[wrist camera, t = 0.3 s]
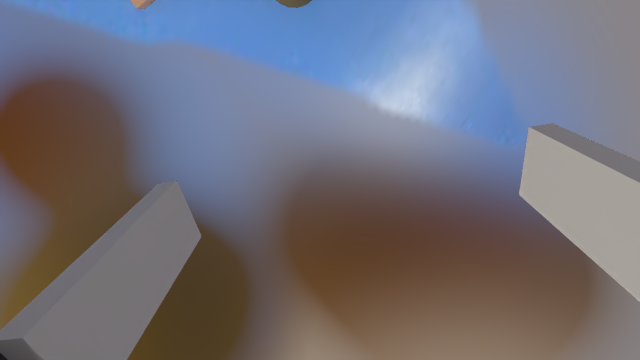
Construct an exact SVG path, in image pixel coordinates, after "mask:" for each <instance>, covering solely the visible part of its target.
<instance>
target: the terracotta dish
mask: <svg viewBox="0 0 640 360" xmlns="http://www.w3.org/2000/svg"><path fill="white" fill-rule="evenodd" d="M154 1H155V0H131V2H132V3H133V4H134V6H135V7H136V8H137V9H145V8H146V7H148V6H149V5H150V4H151V3H153V2H154Z"/></svg>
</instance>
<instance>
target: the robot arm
mask: <svg viewBox="0 0 640 360" xmlns="http://www.w3.org/2000/svg"><path fill="white" fill-rule="evenodd" d="M519 195H520V196H521V197H522V198H523V199H525V200H526V201H527V202H528V203H529V204H530V205H531V206H532V207H534V208H535V209H536V210H537V211H538V212H539V213H540V214H541V215H543V216H544V217H545V218H546V219H547V220H548V221H549V222H551V223H552V224H553V225H554V226H555V227H556V228H557V229H558V230H559V231H561V232H562V233H563V234H564V235H565V236H566V237H567V238H569V239H570V240H571V241H572V242H573V243H574V244H575V245H576V246H578V247H579V248H580V249H581V250H582V251H583V252H584V253H586V254H587V255H588V256H589V257H590V258H591V259H593V261H594V262H596V263H597V264H598V265H599V266H600V267H601V268H602V269H604V270H605V271H606V272H607V273H608V274H609V275H610V276H611V277H612V278H614V279H615V280H616V281H617V282H618V283H619V284H620V285H621V286H623V287H624V288H625V289H626V290H627V291H628V292H629V293H631V294H632V295H633V296H634V297H635V298H636V299H637V300H638V301H640V161H638V160H635V159H633V158H631V157H628V156H626V155H624V154H621V153H619V152H617V151H614V150H612V149H610V148H607V147H605V146H603V145H601V144H598V143H596V142H594V141H592V140H589V139H587V138H585V137H582V136H580V135H578V134H576V133H573V132H571V131H569V130H566V129H564V128H562V127H559V126H557V125H555V124H546V125H540V126H533V127H529V131H528V138H527V145H526V152H525V159H524V165H523V172H522V179H521V185H520V192H519ZM200 238H201V234H200V232H199V230H198V227H197V225H196V223H195V221H194V218H193V216H192V214H191V212H190V210H189V207H188V205H187V203H186V201H185V199H184V196H183V194H182V192H181V190H180V187H179V185H178V183H177V181H173V182H166V183H160V184H158V185H157V186H156V187H154V188H153V189H152V190H151V191H150V192H149V193H148V194H147V195H146V196H145V197H144V198H143V199H142V200H141V201H139V202H138V203H137V204H136V205H135V206H134V207H133V208H132V209H131V210H130V211H129V212H127V213H126V214H125V215H124V216H123V217H122V218H121V219H120V220H119V221H118V222H117V223H116V224H115V225H114V226H112V227H111V228H110V229H109V230H108V231H107V232H106V233H105V234H104V235H103V236H102V237H101V238H99V239H98V240H97V241H96V242H95V243H94V244H93V245H92V246H91V247H90V248H89V249H88V250H87V251H86V252H84V253H83V254H82V255H81V256H80V257H79V258H78V259H77V260H76V261H75V262H74V263H72V264H71V265H70V266H69V267H68V268H67V269H66V270H65V271H64V272H63V273H62V274H61V275H60V276H59V277H57V278H56V279H55V280H54V281H53V282H52V283H51V284H50V285H49V286H48V287H47V288H46V289H44V290H43V291H42V292H41V293H40V294H39V295H38V296H37V297H36V298H35V299H34V300H33V301H32V302H30V303H29V304H28V305H27V306H26V307H25V308H24V309H23V310H22V311H21V312H20V313H19V314H17V315H16V316H15V317H14V318H13V319H12V320H11V321H10V322H9V323H8V324H7V325H6V326H5V327H3V328H2V329H1V330H0V360H127V358H128V357H129V355H130V353H131V352H132V350H133V348H134V347H135V345H136V344H137V342H138V340H139V339H140V337H141V335H142V333H143V332H144V330H145V329H146V327H147V325H148V324H149V322H150V320H151V319H152V317H153V316H154V314H155V312H156V311H157V309H158V307H159V305H160V304H161V302H162V301H163V299H164V297H165V296H166V294H167V292H168V291H169V289H170V287H171V286H172V284H173V282H174V281H175V279H176V277H177V276H178V274H179V272H180V271H181V269H182V267H183V266H184V264H185V262H186V261H187V259H188V258H189V256H190V254H191V253H192V251H193V249H194V247H195V246H196V244H197V243H198V241H199V240H200Z"/></svg>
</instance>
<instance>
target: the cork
mask: <svg viewBox="0 0 640 360" xmlns="http://www.w3.org/2000/svg"><path fill="white" fill-rule="evenodd" d="M277 1H278V2H279V3H280V4H282V5H285V6H287V7H296V8H298V7H301V6H304V5H306V4H308V3H309V2H310V1H311V0H277Z"/></svg>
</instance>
